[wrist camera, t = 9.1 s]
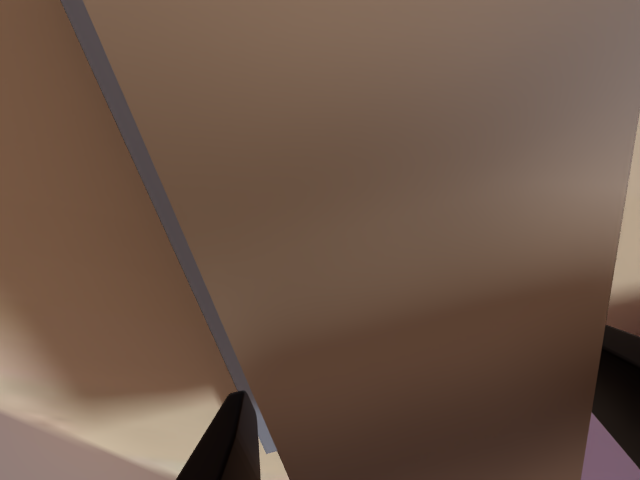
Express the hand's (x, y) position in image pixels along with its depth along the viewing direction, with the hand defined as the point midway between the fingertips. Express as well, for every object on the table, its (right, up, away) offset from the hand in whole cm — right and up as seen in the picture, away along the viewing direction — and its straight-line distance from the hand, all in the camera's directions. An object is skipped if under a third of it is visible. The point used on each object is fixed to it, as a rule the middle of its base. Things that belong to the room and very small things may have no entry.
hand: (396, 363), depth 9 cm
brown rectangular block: (0, +1, +2) cm, 2 cm away
